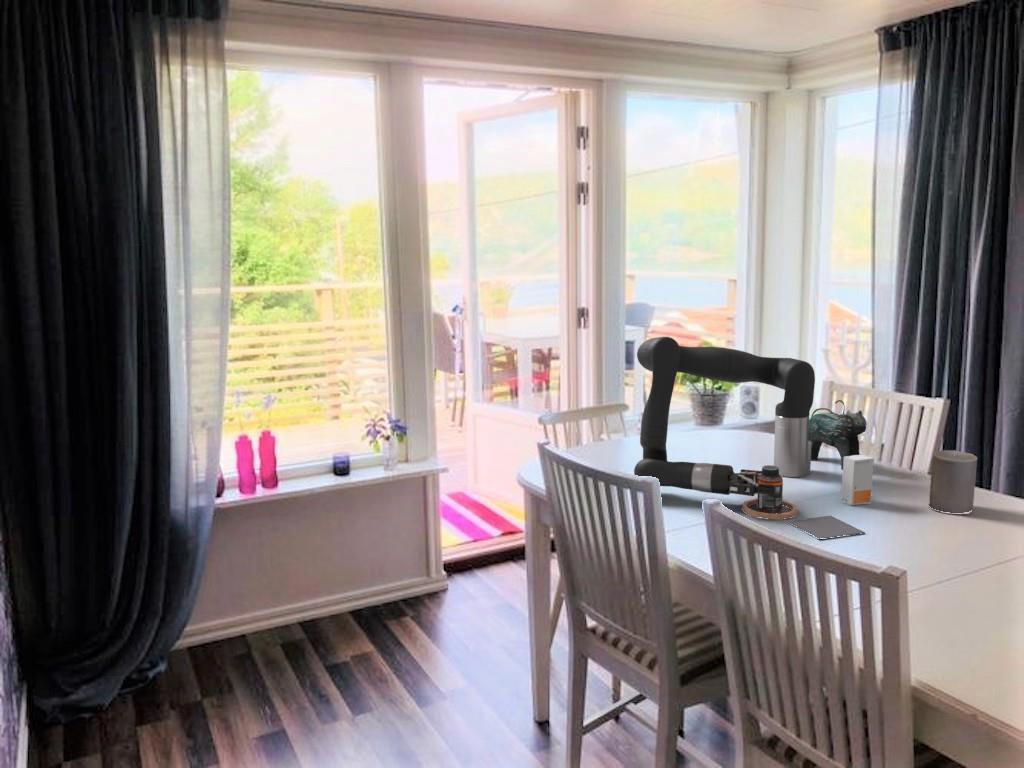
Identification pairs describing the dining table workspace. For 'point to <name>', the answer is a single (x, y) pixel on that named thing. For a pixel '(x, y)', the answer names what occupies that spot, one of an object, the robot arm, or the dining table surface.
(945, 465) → the pillar candle
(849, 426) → the ceramic cat
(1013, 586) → the dining table surface
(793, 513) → the wooden ring
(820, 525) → the mat
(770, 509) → the supplement bottle
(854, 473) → the skincare box
